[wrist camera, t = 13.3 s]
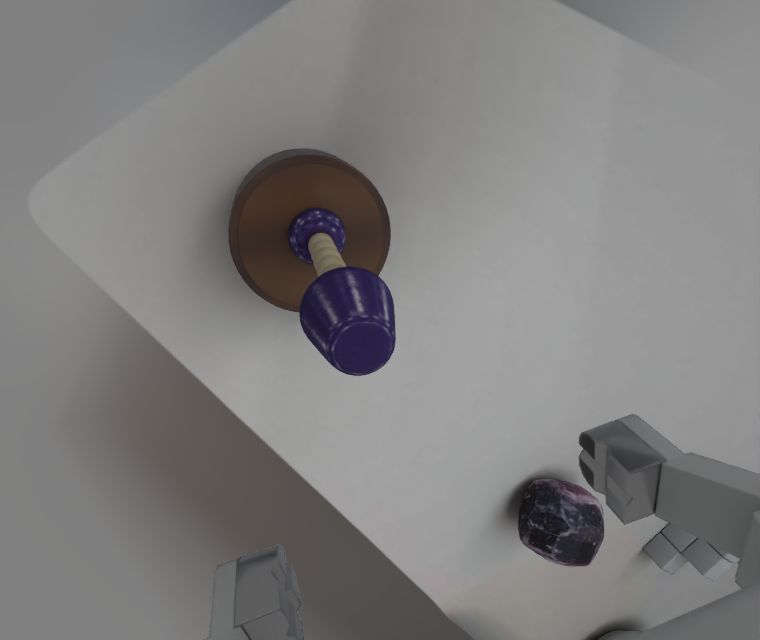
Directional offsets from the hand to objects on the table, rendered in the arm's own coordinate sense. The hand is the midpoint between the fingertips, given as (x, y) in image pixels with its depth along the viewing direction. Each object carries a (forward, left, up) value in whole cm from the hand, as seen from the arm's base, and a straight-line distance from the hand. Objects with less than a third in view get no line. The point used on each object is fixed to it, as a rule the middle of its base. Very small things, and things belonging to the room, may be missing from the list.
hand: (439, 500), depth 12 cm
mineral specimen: (+44, +20, -30) cm, 57 cm away
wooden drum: (0, 0, -30) cm, 30 cm away
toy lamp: (0, 0, -25) cm, 25 cm away
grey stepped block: (+67, +46, -30) cm, 87 cm away
